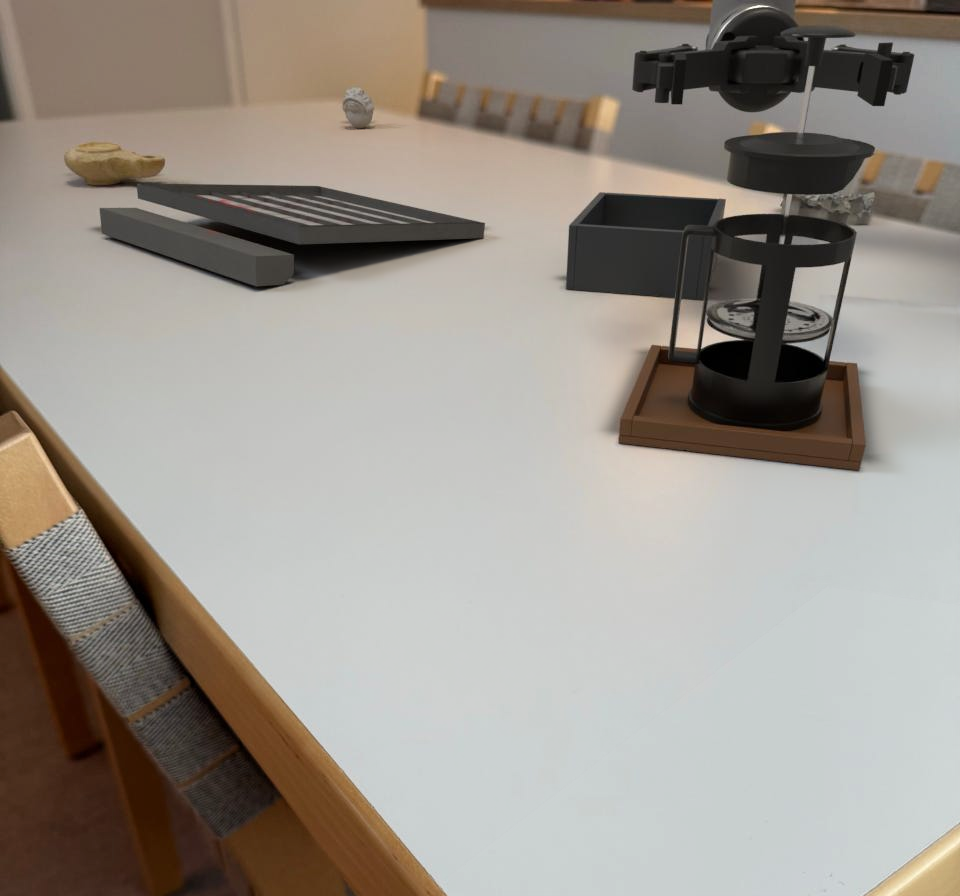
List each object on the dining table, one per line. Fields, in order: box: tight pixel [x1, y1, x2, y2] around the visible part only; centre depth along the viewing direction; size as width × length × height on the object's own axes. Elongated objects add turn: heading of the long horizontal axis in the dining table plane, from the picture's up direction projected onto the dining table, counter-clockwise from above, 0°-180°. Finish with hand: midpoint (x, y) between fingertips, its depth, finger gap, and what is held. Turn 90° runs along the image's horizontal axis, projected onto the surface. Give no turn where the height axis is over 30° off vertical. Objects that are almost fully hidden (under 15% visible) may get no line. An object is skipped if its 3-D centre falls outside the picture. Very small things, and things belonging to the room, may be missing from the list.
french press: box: [668, 25, 876, 431], centre depth 62 cm, size 12×9×23 cm
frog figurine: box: [342, 86, 375, 129], centre depth 184 cm, size 6×7×7 cm
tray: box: [617, 344, 867, 471], centre depth 69 cm, size 16×16×2 cm
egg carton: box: [779, 191, 875, 226], centre depth 117 cm, size 11×8×4 cm
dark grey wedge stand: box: [99, 182, 486, 287], centre depth 112 cm, size 32×7×31 cm
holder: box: [565, 191, 727, 301], centre depth 98 cm, size 14×17×6 cm
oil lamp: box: [63, 141, 166, 186], centre depth 139 cm, size 11×14×5 cm
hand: (779, 82), depth 65 cm, fingers open, 13 cm apart
